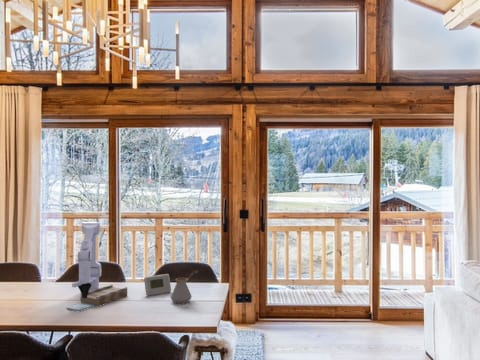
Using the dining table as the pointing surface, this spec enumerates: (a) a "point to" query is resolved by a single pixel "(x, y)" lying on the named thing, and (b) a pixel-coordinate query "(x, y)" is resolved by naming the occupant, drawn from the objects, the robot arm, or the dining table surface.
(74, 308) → the lid plate
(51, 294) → the dining table surface
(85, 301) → the slide box
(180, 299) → the coffee pot
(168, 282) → the digital clock
